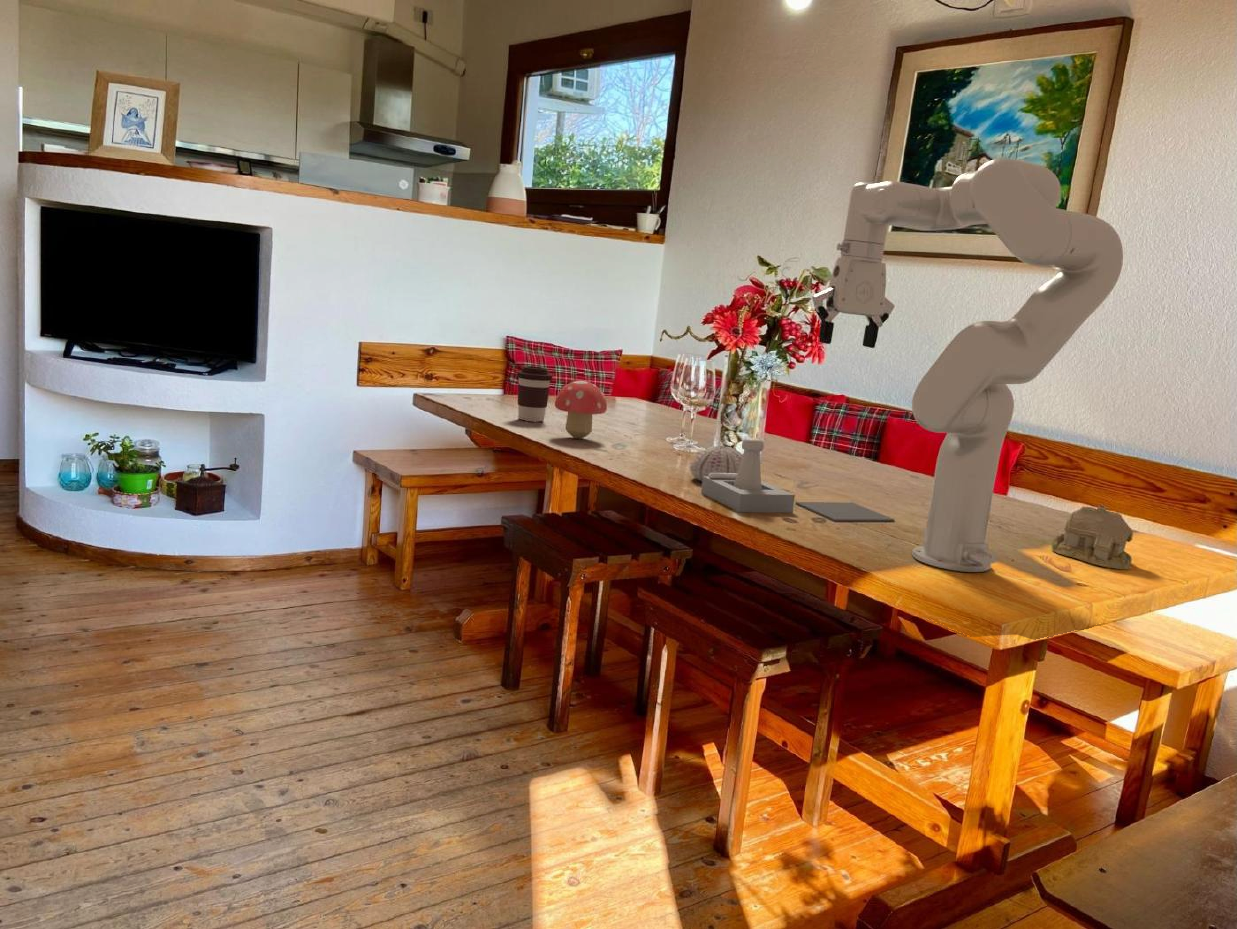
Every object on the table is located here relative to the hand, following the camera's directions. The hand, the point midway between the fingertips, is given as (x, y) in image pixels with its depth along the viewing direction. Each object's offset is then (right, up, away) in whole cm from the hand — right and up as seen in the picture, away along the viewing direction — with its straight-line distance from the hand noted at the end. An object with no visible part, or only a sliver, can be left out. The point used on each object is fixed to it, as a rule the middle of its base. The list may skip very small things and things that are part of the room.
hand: (846, 345), depth 189 cm
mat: (+2, -32, +12) cm, 34 cm away
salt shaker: (-17, -30, +12) cm, 37 cm away
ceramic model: (+43, -40, -6) cm, 59 cm away
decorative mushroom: (-53, -16, +70) cm, 90 cm away
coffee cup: (-68, -10, +94) cm, 116 cm away
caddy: (-17, -30, +12) cm, 37 cm away
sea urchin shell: (-21, -27, +31) cm, 46 cm away
